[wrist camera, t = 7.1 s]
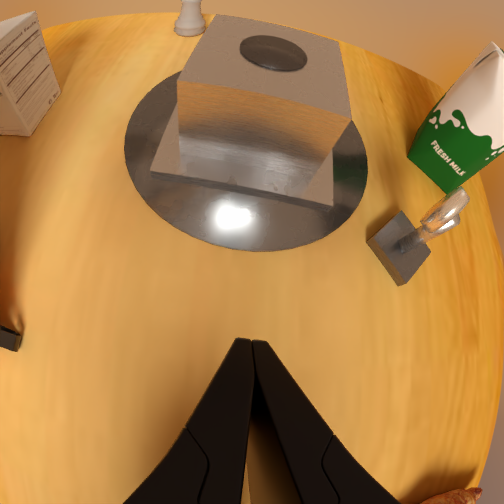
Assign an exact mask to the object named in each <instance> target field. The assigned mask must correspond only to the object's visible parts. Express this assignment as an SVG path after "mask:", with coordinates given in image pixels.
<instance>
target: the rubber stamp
mask: <svg viewBox="0 0 504 504" xmlns="http://www.w3.org/2000/svg"><path fill="white" fill-rule="evenodd" d="M469 199H470V198H469V196H468V195H467V193H466V192H465V190H464V189H463V188H462V186H460V187H458V188H456V189H454V190H453V191H451V192H450V193H449V194H447V195H446V196H445V197H443V198H442V199H441V200H440V201H439V202H437V203H436V204H435V205H434V206H433V207H432V208H431V209H430V210H429V211H428V212H427V213H426V214H425V215H424V216H423V217H422V219H421V220H420V222H421V223H422V226H420V227H419V228H417V229H415V228H414V226H413V225H412V224H411V222H410V221H409V219H408V218H407V217H406V215H405V214H404V213H403V211H402V210H401V211H400V212H398V213H397V214H396V215H395V216H393V217H392V218H391V219H390V220H389V221H388V222H387V223H386V224H385V225H384V226H383V227H382V228H381V229H380V230H379V231H378V232H376V233H375V234H374V235H373V236H372V237H371V238H370V239H369V240H368V241H367V244H368V245H369V246H370V248H371V249H372V250H373V252H374V253H375V254H376V256H377V257H378V259H379V260H380V261H381V263H382V264H383V265H384V267H385V268H386V270H387V271H388V273H389V274H390V275H391V277H392V278H393V280H394V281H395V283H396V284H397V285H398V286H401V285H403V284H406V283H407V282H408V281H409V280H410V278H411V277H412V276H413V275H414V273H415V272H416V271H417V270H418V268H419V267H420V266H421V265H422V263H423V262H424V261H425V259H426V258H427V257H428V256H429V254H430V253H431V251H430V249H429V248H428V246H427V245H426V242H428V241H430V240H432V239H433V238H435V237H437V236H439V235H441V234H442V233H444V232H446V231H448V230H450V229H451V228H453V227H455V226H457V225H458V224H459V223H460V217H459V213H460V212H461V211H462V209H463V208H464V207H465V206H466V205H467V203H468V202H469Z"/></svg>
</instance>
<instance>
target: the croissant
mask: <svg viewBox="0 0 504 504" xmlns="http://www.w3.org/2000/svg"><path fill="white" fill-rule="evenodd" d="M481 494H482V489H481V488H473V487H472V488H469V489H467V490H464V489H456V490H453V491H449V492H446V493H444V494H440V495H435V496H433V497H431V498H429V499H427V500H425V501H423V502H422V503H420V504H476V500H478V499H479V498H480V496H481Z"/></svg>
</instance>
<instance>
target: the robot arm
mask: <svg viewBox="0 0 504 504" xmlns="http://www.w3.org/2000/svg"><path fill="white" fill-rule="evenodd" d="M246 461H247V471H248V481H249V491H250V500H251V504H401V503H400V502H399V501H398V500H397V499H395V498H394V497H393V496H392V495H391V494H390V493H389V492H388V491H387V490H386V489H385V488H383V487H382V486H381V485H380V484H379V483H378V482H377V481H376V480H375V479H374V478H373V477H372V476H371V475H370V474H369V473H368V472H367V471H366V470H365V469H364V468H363V467H362V466H361V465H360V464H359V463H358V462H357V461H356V460H355V459H354V457H353V456H352V455H351V454H350V453H349V451H348V450H347V449H346V448H345V447H344V445H343V444H342V443H341V442H340V440H339V439H338V438H337V436H336V435H333V431H332V430H331V429H330V427H329V426H328V425H327V423H326V422H325V421H324V419H323V418H322V417H321V415H320V414H319V413H318V411H317V410H316V409H315V407H314V406H313V405H312V403H311V402H310V401H309V399H308V398H307V397H306V395H305V394H304V392H303V391H302V390H301V388H300V387H299V386H298V384H297V383H296V381H295V380H294V379H293V377H292V376H291V374H290V373H289V372H288V370H287V369H286V368H285V366H284V365H283V363H282V362H281V360H280V359H279V358H278V356H277V355H276V353H275V352H274V351H273V349H272V348H271V346H270V345H269V343H268V342H267V341H263V340H252V341H251V340H250V339H246V338H236V339H235V340H234V342H233V344H232V346H231V347H230V349H229V351H228V353H227V354H226V356H225V358H224V360H223V361H222V363H221V365H220V367H219V368H218V370H217V372H216V374H215V375H214V377H213V379H212V380H211V382H210V384H209V386H208V387H207V389H206V391H205V392H204V394H203V396H202V398H201V399H200V401H199V403H198V404H197V406H196V408H195V409H194V411H193V413H192V414H191V416H190V418H189V419H188V421H187V423H186V424H185V428H183V429H182V431H181V432H180V434H179V436H178V437H177V439H176V440H175V442H174V443H173V445H172V446H171V448H170V449H169V451H168V452H167V454H166V455H165V457H164V458H163V459H162V460H161V462H160V463H159V464H158V465H157V466H156V468H155V469H154V470H153V471H152V473H151V474H150V475H149V476H148V477H147V478H146V479H145V480H144V481H143V482H142V484H141V485H140V486H139V487H138V488H137V489H136V490H135V491H134V492H133V493H132V494H131V495H130V496H129V497H128V499H127V500H126V501H125V502H124V503H123V504H241V497H242V488H243V480H244V472H245V463H246Z"/></svg>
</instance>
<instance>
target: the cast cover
mask: <svg viewBox="0 0 504 504" xmlns="http://www.w3.org/2000/svg"><path fill="white" fill-rule="evenodd" d="M351 119H352V117H351V110H350V103H349V96H348V90H347V84H346V78H345V73H344V67H343V62H342V57H341V52H340V48H339V43H338V42H337V41H334V40H331V39H328V38H325V37H321V36H318V35H315V34H312V33H308V32H305V31H301V30H297V29H294V28H290V27H286V26H281V25H277V24H273V23H268V22H263V21H258V20H252V19H247V18H240V17H234V16H226V15H218V14H216V16H215V17H214V19H213V20H212V22H211V23H210V25H209V26H208V28H207V29H206V31H205V33H204V34H203V36H202V37H201V39H200V41H199V42H198V44H197V46H196V47H195V49H194V51H193V52H192V54H191V56H190V58H189V59H188V61H187V63H186V65H185V67H184V68H183V70H182V72H181V74H180V76H179V78H178V80H177V104H176V106H175V109H174V111H173V113H172V115H171V118H170V120H169V122H168V125H167V127H166V129H165V132H164V134H163V137H162V139H161V142H160V144H159V147H158V149H157V152H156V155H155V157H154V160H153V163H152V165H151V168H150V174H151V178H152V179H158V180H165V181H171V182H178V183H184V184H190V185H196V186H202V187H208V188H213V189H219V190H224V191H230V192H235V193H240V194H245V195H251V196H256V197H261V198H265V199H270V200H275V201H280V202H284V203H289V204H294V205H298V206H303V207H307V208H312V209H316V210H320V211H324V212H328V211H329V210H330V209H331V208H332V207H333V156H332V148H333V147H334V145H335V144H336V142H337V141H338V139H339V138H340V136H341V135H342V133H343V131H344V130H345V128H346V127H347V125H348V124H349V122H350V121H351Z"/></svg>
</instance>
